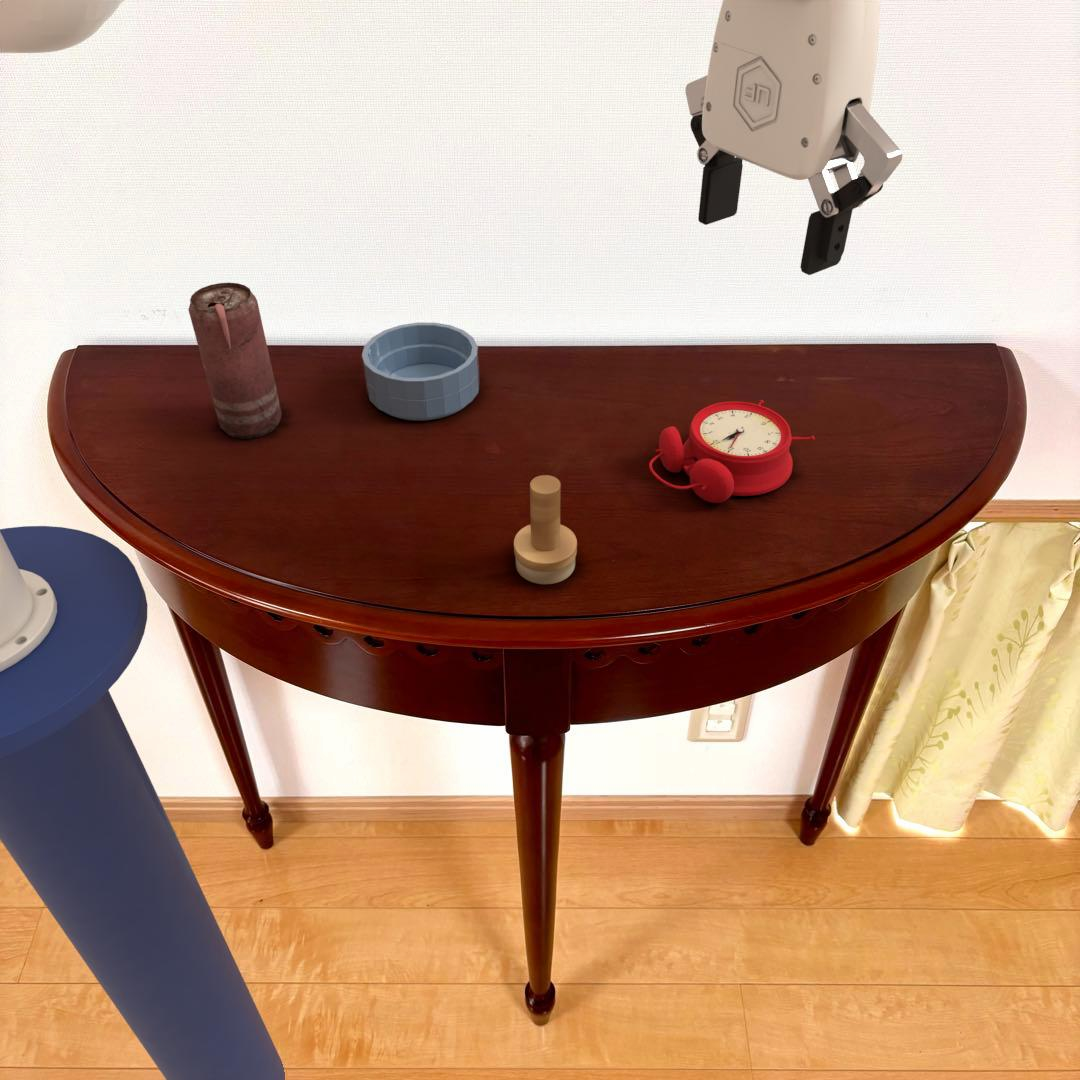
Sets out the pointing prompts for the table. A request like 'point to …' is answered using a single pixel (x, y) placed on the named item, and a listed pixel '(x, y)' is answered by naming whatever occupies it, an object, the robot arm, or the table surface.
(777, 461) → the alarm clock
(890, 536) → the table surface
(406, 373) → the bowl
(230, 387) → the can
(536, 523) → the dish brush
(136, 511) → the table surface
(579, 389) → the table surface
